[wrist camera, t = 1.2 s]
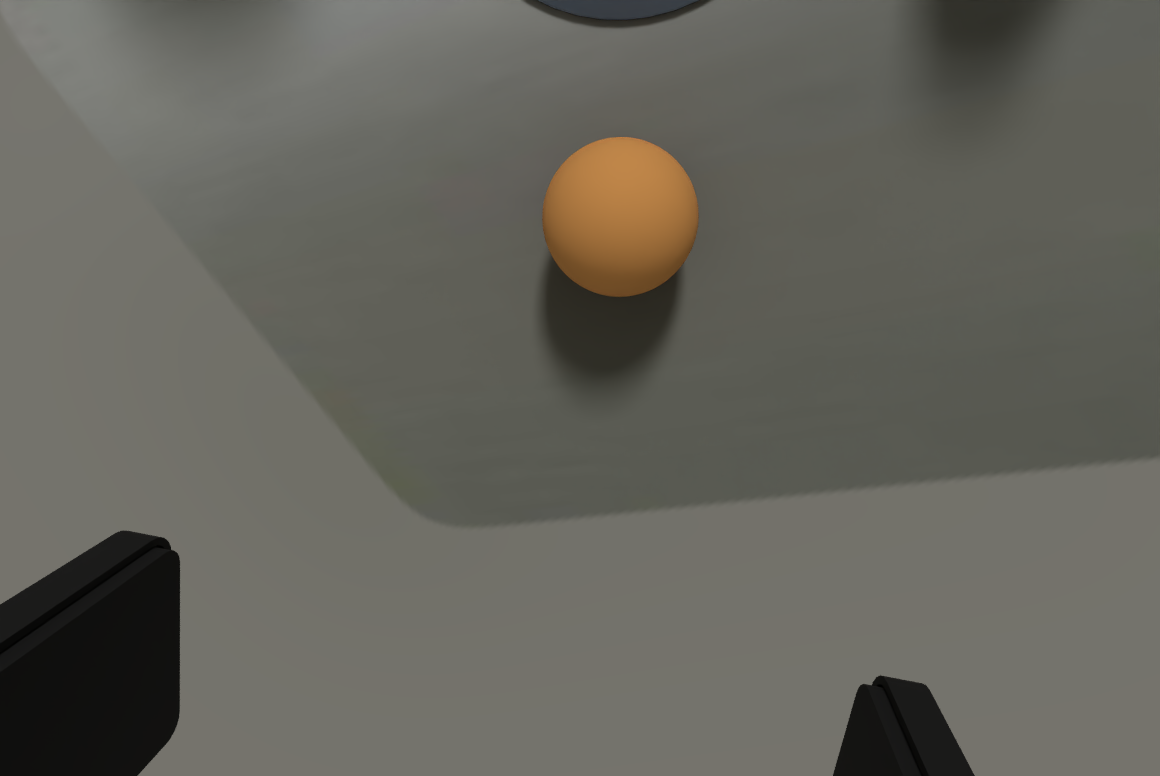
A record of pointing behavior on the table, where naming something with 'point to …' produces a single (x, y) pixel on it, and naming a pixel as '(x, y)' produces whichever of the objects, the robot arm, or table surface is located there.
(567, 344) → the table surface
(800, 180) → the table surface
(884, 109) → the table surface
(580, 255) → the ball
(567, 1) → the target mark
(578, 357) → the table surface
